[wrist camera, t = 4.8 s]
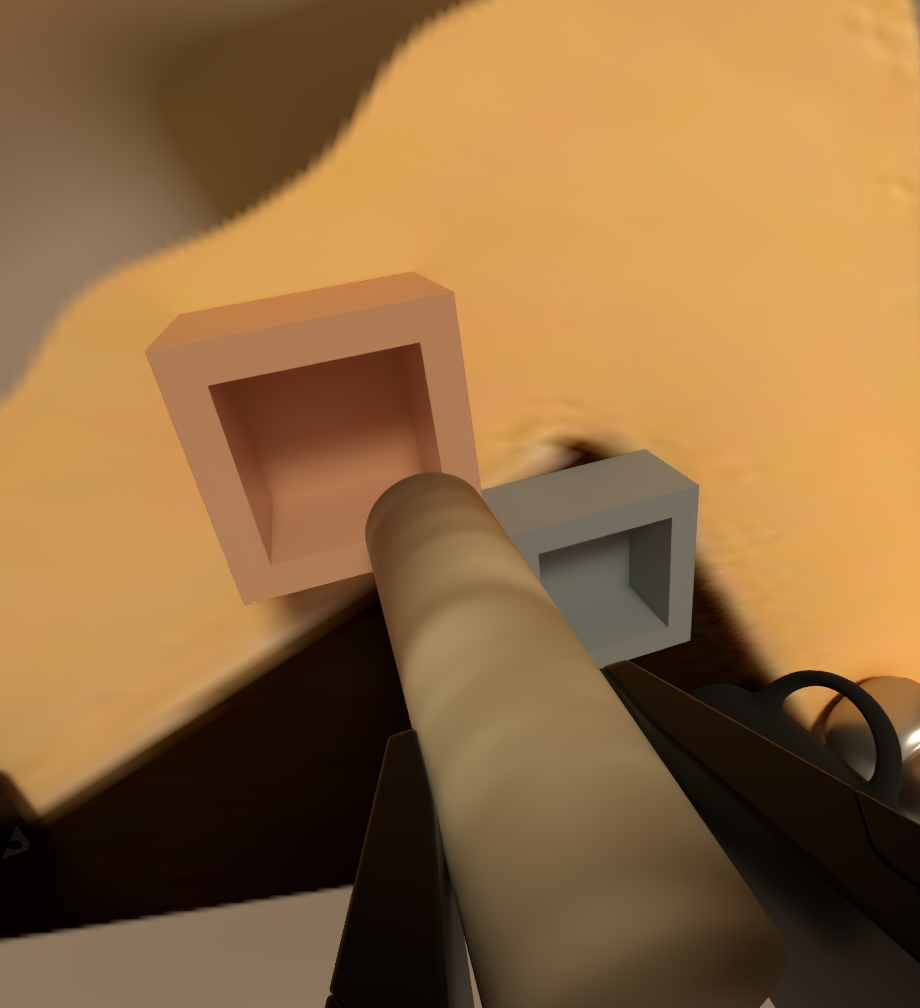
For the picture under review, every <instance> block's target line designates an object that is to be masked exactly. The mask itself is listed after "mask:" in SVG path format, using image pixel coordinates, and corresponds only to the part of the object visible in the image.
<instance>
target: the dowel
mask: <svg viewBox="0 0 920 1008" xmlns="http://www.w3.org/2000/svg"><path fill="white" fill-rule="evenodd" d="M365 540H366V545H367V549H368V553H369V557H370V561H371V565H372V569H373V573H374V577H375V581H376V585H377V589H378V593H379V597H380V601H381V605H382V609H383V613H384V617H385V621H386V625H387V629H388V633H389V637H390V641H391V645H392V649H393V653H394V657H395V661H396V665H397V669H398V673H399V677H400V681H401V685H402V689H403V693H404V697H405V701H406V705H407V709H408V713H409V717H410V721H411V725H412V729H414V730H415V731H416V732H417V735H418V739H419V743H420V747H421V751H422V755H423V759H424V763H425V767H426V770H427V774H428V778H429V782H430V786H431V790H432V794H433V798H434V802H435V806H436V811H437V815H438V820H439V826H440V831H441V837H442V843H443V849H444V854H445V859H446V864H447V869H448V873H449V877H450V881H451V885H452V889H453V893H454V896H455V900H456V904H457V908H458V912H459V916H460V920H461V924H462V928H463V932H464V936H465V940H466V944H467V948H468V952H469V956H470V960H471V964H472V968H473V972H474V976H475V980H476V984H477V988H478V992H479V996H480V1000H481V1004H482V1008H760V1006H761V1005H762V1004H763V1003H764V1002H765V1000H766V999H767V998H768V997H769V995H770V994H771V993H772V991H773V990H774V988H775V987H776V985H777V983H778V982H779V980H780V977H781V975H782V973H783V971H784V968H785V965H786V960H787V948H786V943H785V941H784V939H783V937H782V935H781V934H780V932H779V931H778V930H777V928H776V927H775V925H774V924H773V922H772V921H771V919H770V918H769V916H768V915H767V913H766V912H765V911H764V909H763V908H762V906H761V905H760V903H759V902H758V900H757V899H756V897H755V896H754V894H753V893H752V892H751V890H750V889H749V887H748V886H747V884H746V883H745V881H744V880H743V878H742V877H741V875H740V874H739V873H738V871H737V870H736V868H735V867H734V865H733V864H732V862H731V861H730V859H729V858H728V857H727V855H726V854H725V852H724V851H723V849H722V848H721V846H720V845H719V843H718V842H717V840H716V839H715V838H714V836H713V835H712V833H711V832H710V830H709V829H708V827H707V826H706V824H705V823H704V821H703V820H702V819H701V817H700V816H699V814H698V813H697V811H696V810H695V808H694V807H693V805H692V804H691V802H690V801H689V800H688V798H687V797H686V795H685V794H684V792H683V791H682V789H681V788H680V786H679V785H678V784H677V782H676V781H675V779H674V778H673V776H672V775H671V773H670V772H669V770H668V769H667V767H666V766H665V765H664V763H663V762H662V760H661V759H660V757H659V756H658V754H657V753H656V751H655V750H654V748H653V747H652V746H651V744H650V743H649V741H648V740H647V738H646V737H645V735H644V734H643V732H642V731H641V729H640V728H639V727H638V725H637V724H636V722H635V721H634V719H633V718H632V716H631V715H630V713H629V712H628V710H627V709H626V708H625V706H624V705H623V703H622V702H621V700H620V699H619V697H618V696H617V694H616V693H615V692H614V690H613V689H612V687H611V686H610V684H609V683H608V681H607V680H606V678H605V677H604V675H603V674H602V673H601V671H600V670H599V668H598V667H597V665H596V664H595V662H594V661H593V659H592V658H591V656H590V655H589V654H588V652H587V651H586V649H585V648H584V646H583V645H582V643H581V642H580V640H579V639H578V637H577V636H576V635H575V633H574V632H573V630H572V629H571V627H570V626H569V624H568V623H567V621H566V620H565V619H564V617H563V616H562V614H561V613H560V611H559V610H558V608H557V607H556V605H555V604H554V602H553V601H552V600H551V598H550V597H549V595H548V594H547V592H546V591H545V589H544V588H543V586H542V585H541V583H540V582H539V581H538V579H537V578H536V576H535V575H534V573H533V572H532V570H531V569H530V567H529V566H528V564H527V563H526V562H525V560H524V559H523V557H522V556H521V554H520V553H519V551H518V550H517V548H516V547H515V546H514V544H513V543H512V541H511V540H510V538H509V537H508V535H507V534H506V532H505V531H504V529H503V528H502V527H501V525H500V524H499V522H498V521H497V519H496V518H495V516H494V515H493V513H492V512H491V510H490V509H489V508H488V506H487V505H486V503H485V502H484V500H483V499H482V497H481V496H480V494H479V493H478V492H477V491H476V489H475V488H474V487H472V486H471V485H470V484H469V483H468V482H466V481H465V480H463V479H461V478H459V477H457V476H454V475H451V474H447V473H441V472H427V473H420V474H415V475H412V476H409V477H407V478H404V479H402V480H400V481H398V482H397V483H395V484H394V485H392V486H391V487H390V488H388V489H387V490H386V491H385V492H384V493H383V494H382V495H381V496H380V497H379V498H378V500H377V501H376V502H375V504H374V505H373V507H372V509H371V511H370V513H369V516H368V519H367V523H366V529H365Z"/></svg>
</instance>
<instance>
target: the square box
mask: <svg viewBox="0 0 920 1008" xmlns="http://www.w3.org/2000/svg"><path fill="white" fill-rule="evenodd" d="M145 353H146V356H147V359H148V361H149V364H150V366H151V369H152V371H153V374H154V376H155V379H156V381H157V384H158V387H159V389H160V392H161V394H162V397H163V399H164V402H165V404H166V407H167V410H168V412H169V415H170V417H171V420H172V422H173V425H174V427H175V430H176V432H177V435H178V438H179V440H180V443H181V445H182V448H183V450H184V453H185V455H186V458H187V461H188V463H189V466H190V468H191V471H192V473H193V476H194V478H195V481H196V484H197V486H198V489H199V491H200V494H201V496H202V499H203V501H204V504H205V506H206V509H207V512H208V514H209V517H210V519H211V522H212V524H213V527H214V529H215V532H216V535H217V537H218V540H219V542H220V545H221V547H222V550H223V552H224V555H225V557H226V560H227V563H228V565H229V568H230V570H231V573H232V575H233V578H234V580H235V583H236V586H237V588H238V591H239V593H240V596H241V598H242V601H243V603H244V606H246V605H249V604H253V603H257V602H261V601H264V600H268V599H272V598H276V597H279V596H283V595H287V594H291V593H294V592H298V591H302V590H306V589H309V588H313V587H317V586H321V585H324V584H328V583H332V582H336V581H339V580H343V579H347V578H351V577H354V576H358V575H362V574H365V573H369V572H373V569H372V565H371V561H370V557H369V553H368V549H367V545H366V540H365V529H366V523H367V519H368V516H369V513H370V511H371V509H372V507H373V505H374V504H375V502H376V501H377V500H378V498H379V497H380V496H381V495H382V494H383V493H384V492H385V491H386V490H387V489H388V488H390V487H391V486H392V485H394V484H395V483H397V482H398V481H400V480H402V479H404V478H407V477H409V476H412V475H415V474H420V473H427V472H441V473H447V474H451V475H454V476H457V477H459V478H461V479H463V480H465V481H466V482H468V483H469V484H470V485H471V486H472V487H474V488H475V489H476V491H477V492H478V493H479V494H480V496H481V497H482V492H481V485H480V478H479V470H478V463H477V456H476V449H475V441H474V434H473V427H472V420H471V412H470V405H469V398H468V391H467V383H466V376H465V369H464V362H463V354H462V347H461V340H460V333H459V325H458V318H457V311H456V304H455V296H454V291H451V290H449V289H447V288H445V287H443V286H441V285H439V284H437V283H435V282H433V281H431V280H429V279H427V278H425V277H423V276H421V275H419V274H417V273H415V272H409V273H403V274H398V275H392V276H387V277H381V278H376V279H371V280H365V281H360V282H354V283H349V284H343V285H338V286H332V287H327V288H322V289H316V290H311V291H305V292H300V293H294V294H289V295H284V296H278V297H273V298H267V299H262V300H256V301H251V302H245V303H240V304H235V305H229V306H224V307H218V308H213V309H207V310H202V311H197V312H191V313H186V314H180V315H178V316H177V317H176V318H175V319H174V320H173V321H172V322H171V323H170V324H169V325H168V327H167V328H166V329H165V330H164V331H163V332H162V333H161V334H160V335H159V336H158V337H157V338H156V339H155V340H154V341H153V343H152V344H151V345H150V346H149V347H148V348H147V349H146V350H145Z"/></svg>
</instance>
